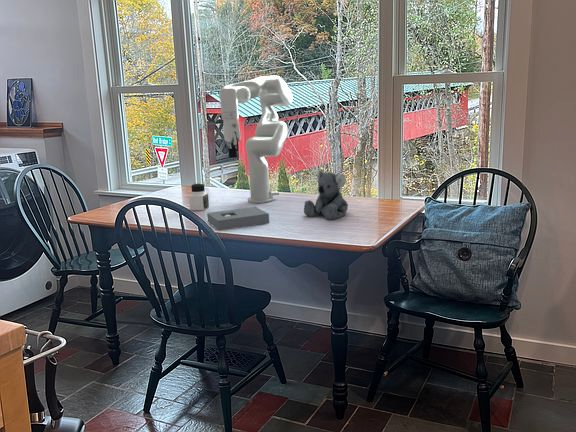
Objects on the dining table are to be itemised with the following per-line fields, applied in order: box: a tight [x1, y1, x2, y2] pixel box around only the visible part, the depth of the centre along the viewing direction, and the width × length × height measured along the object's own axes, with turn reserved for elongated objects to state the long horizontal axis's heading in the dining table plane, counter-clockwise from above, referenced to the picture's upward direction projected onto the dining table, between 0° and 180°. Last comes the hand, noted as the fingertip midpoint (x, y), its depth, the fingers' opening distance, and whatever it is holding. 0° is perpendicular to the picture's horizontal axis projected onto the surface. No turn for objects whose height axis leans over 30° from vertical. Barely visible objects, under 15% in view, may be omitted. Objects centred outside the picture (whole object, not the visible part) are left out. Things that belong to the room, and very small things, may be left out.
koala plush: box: [303, 169, 349, 221], centre depth 247 cm, size 17×18×20 cm
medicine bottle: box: [188, 182, 210, 211], centre depth 271 cm, size 7×7×12 cm
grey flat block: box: [206, 206, 270, 231], centre depth 242 cm, size 22×16×4 cm
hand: (232, 157), depth 257 cm, fingers closed
